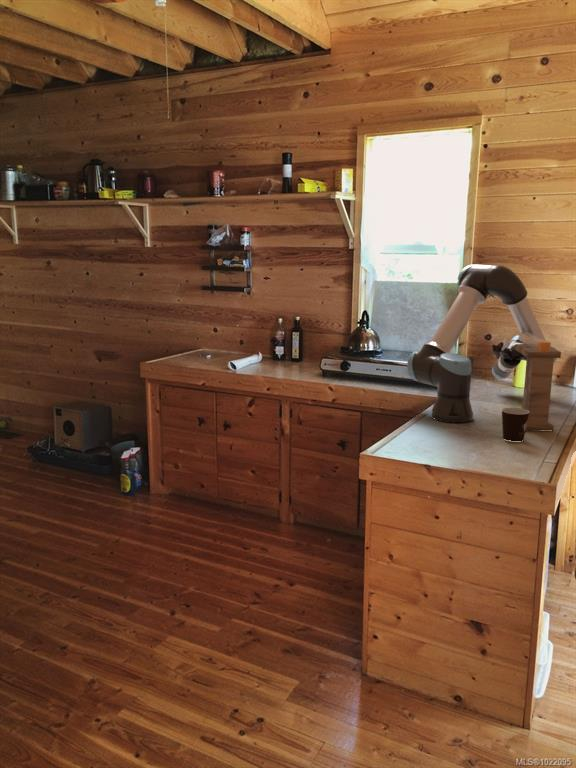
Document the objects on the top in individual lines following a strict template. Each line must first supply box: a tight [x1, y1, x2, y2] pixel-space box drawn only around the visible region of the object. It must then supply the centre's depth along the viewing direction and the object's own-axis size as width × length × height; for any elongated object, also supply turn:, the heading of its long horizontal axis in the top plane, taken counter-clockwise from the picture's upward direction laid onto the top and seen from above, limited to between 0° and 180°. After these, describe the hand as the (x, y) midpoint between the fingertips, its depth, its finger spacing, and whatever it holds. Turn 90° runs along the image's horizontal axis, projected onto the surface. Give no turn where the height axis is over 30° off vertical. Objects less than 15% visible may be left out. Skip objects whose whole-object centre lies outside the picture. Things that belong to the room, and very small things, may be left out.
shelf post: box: [515, 344, 562, 432], centre depth 233 cm, size 16×11×28 cm
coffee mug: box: [501, 407, 529, 441], centre depth 218 cm, size 12×9×10 cm
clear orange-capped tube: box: [519, 331, 552, 352], centre depth 234 cm, size 26×4×3 cm, turn 176°
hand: (524, 341), depth 247 cm, fingers open, 13 cm apart
